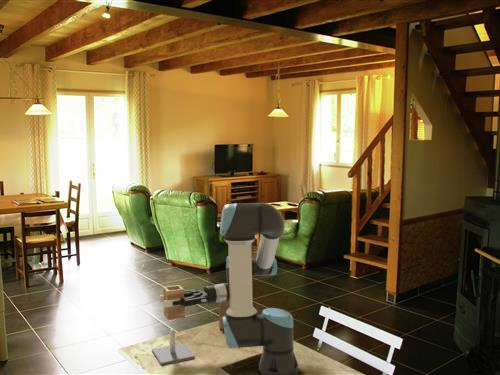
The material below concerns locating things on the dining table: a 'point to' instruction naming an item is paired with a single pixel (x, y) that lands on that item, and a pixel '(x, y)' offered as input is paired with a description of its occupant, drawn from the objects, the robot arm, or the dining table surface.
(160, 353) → the metal rod stand
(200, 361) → the dining table surface
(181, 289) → the wooden tube bead
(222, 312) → the wooden block
